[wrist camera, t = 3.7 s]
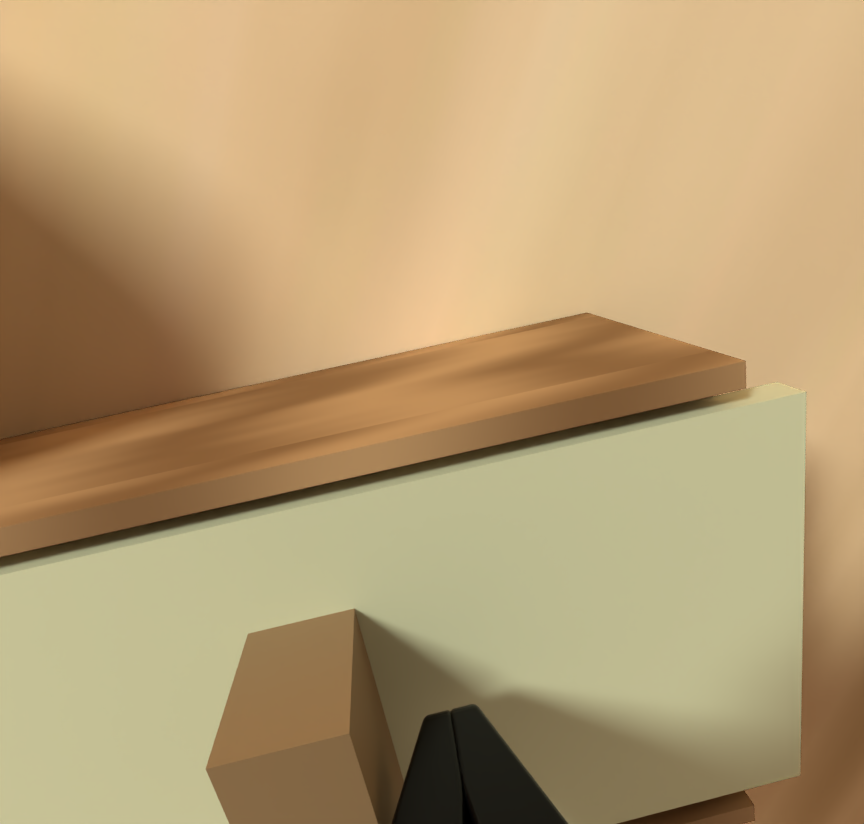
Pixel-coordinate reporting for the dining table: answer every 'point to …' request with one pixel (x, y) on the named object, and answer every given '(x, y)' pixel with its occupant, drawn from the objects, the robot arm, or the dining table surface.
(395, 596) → the lid
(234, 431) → the box
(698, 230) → the dining table surface
